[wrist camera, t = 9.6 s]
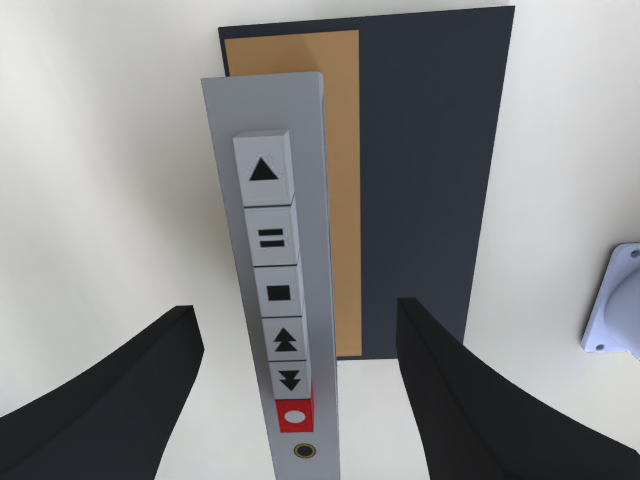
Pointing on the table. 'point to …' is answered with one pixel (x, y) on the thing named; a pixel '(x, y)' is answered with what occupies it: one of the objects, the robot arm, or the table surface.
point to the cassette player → (283, 256)
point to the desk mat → (396, 153)
